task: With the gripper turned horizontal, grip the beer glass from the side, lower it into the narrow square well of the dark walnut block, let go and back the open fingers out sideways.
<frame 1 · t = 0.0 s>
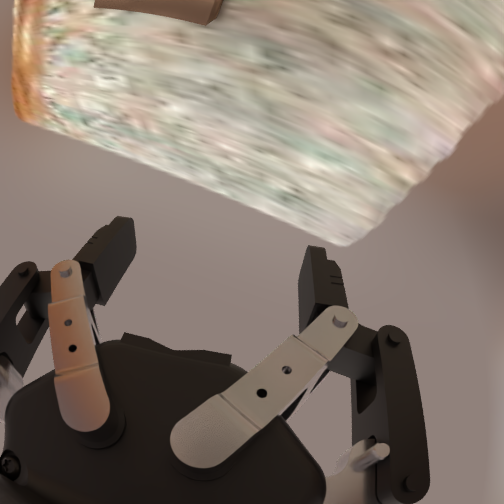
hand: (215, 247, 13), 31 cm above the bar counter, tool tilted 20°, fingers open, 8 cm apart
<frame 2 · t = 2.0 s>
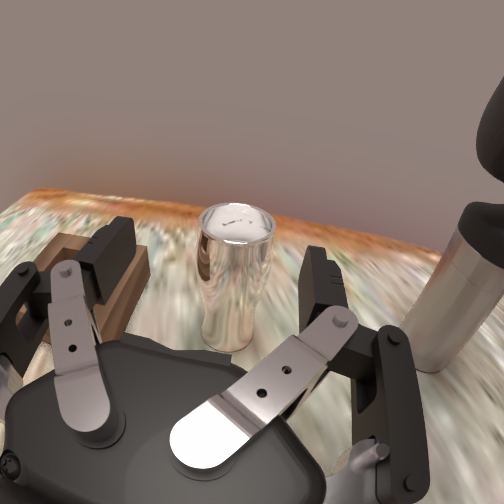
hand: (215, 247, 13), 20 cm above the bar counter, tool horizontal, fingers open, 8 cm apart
walnut well block: (82, 302, 34), on the bar counter
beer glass: (226, 332, 34), on the bar counter
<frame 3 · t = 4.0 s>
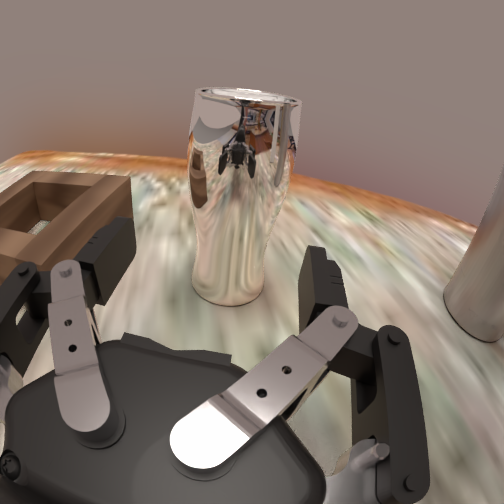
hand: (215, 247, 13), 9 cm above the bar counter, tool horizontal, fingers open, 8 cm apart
walnut well block: (44, 246, 25), on the bar counter
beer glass: (227, 282, 25), on the bar counter
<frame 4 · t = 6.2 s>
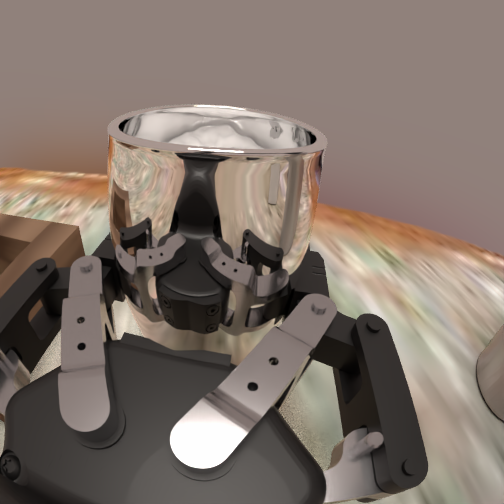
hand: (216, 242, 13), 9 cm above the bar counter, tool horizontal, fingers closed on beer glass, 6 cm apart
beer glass: (204, 384, 17), on the bar counter, touching gripper
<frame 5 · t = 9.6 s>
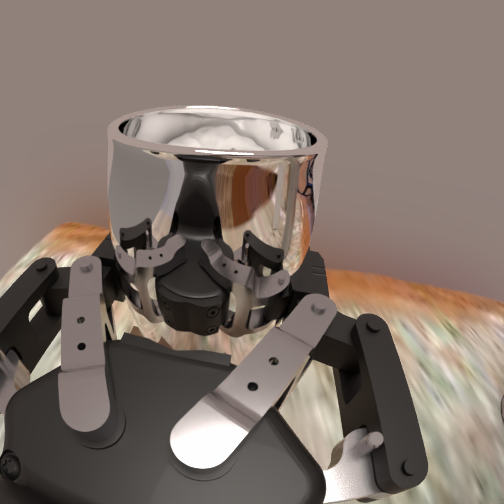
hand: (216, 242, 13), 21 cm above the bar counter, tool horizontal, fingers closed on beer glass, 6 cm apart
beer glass: (205, 385, 17), point 12 cm above the bar counter, touching gripper
when the fingers open (10 cm above the bar counter, at t = 13.0 s): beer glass drops 1 cm, resting in walnut well block.
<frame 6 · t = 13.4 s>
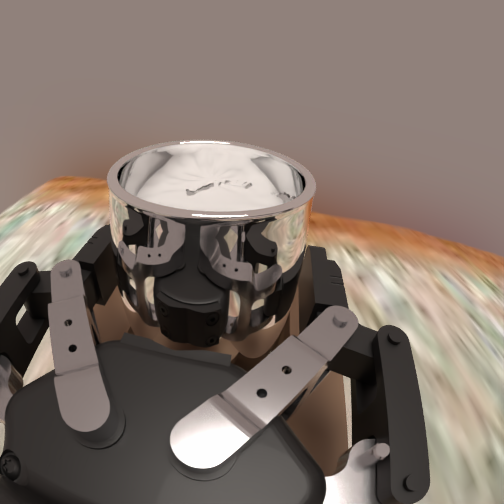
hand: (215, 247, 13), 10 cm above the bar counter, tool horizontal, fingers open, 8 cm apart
walnut well block: (204, 393, 18), on the bar counter
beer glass: (206, 397, 18), resting in walnut well block
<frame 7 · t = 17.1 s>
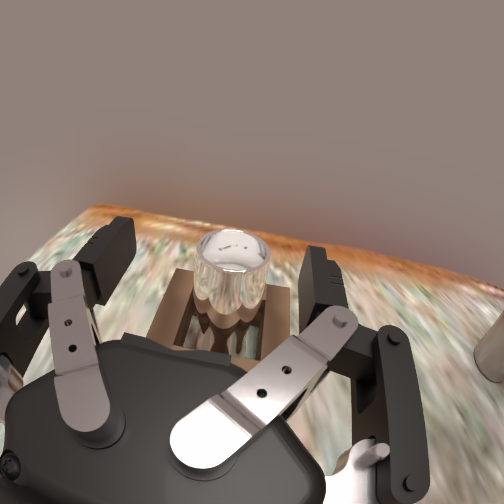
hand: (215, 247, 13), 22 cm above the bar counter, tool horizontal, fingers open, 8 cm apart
walnut well block: (220, 347, 35), on the bar counter
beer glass: (220, 349, 35), resting in walnut well block
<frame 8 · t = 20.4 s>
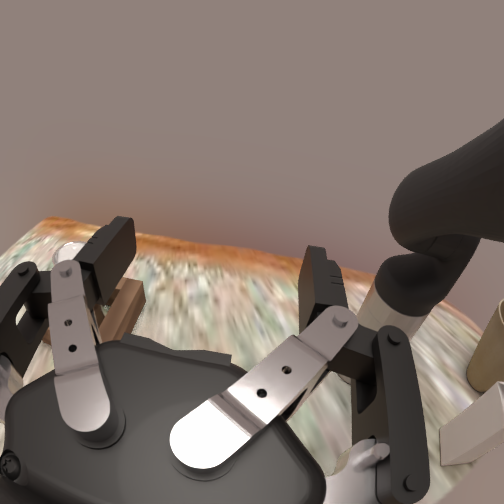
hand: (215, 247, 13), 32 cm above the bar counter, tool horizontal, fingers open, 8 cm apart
plant pot: (477, 379, 42), on the bar counter
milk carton: (453, 447, 31), on the bar counter
walnut well block: (94, 322, 45), on the bar counter
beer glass: (94, 323, 45), resting in walnut well block
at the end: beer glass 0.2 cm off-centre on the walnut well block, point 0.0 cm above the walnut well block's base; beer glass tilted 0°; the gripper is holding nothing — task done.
